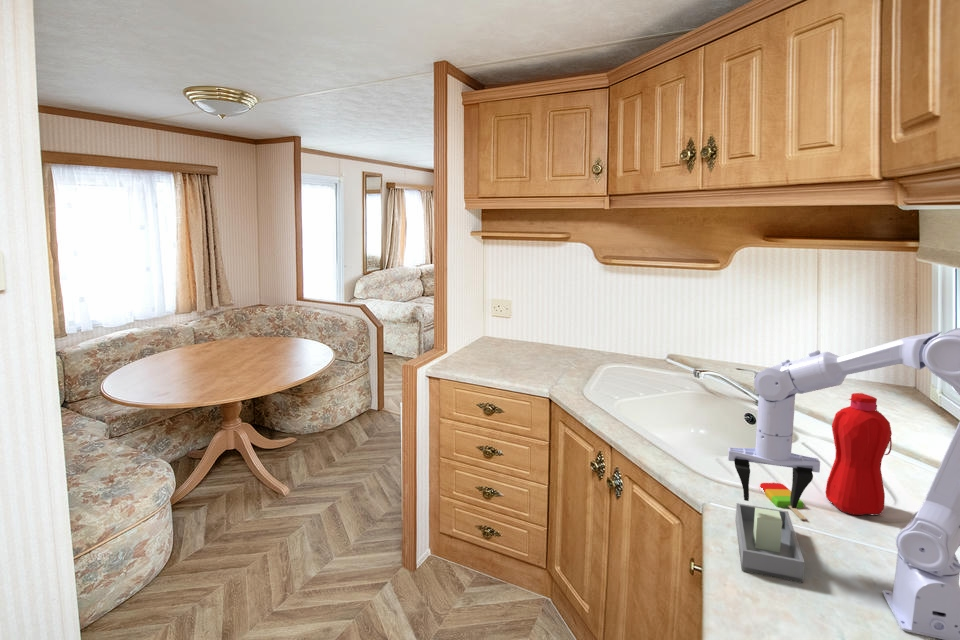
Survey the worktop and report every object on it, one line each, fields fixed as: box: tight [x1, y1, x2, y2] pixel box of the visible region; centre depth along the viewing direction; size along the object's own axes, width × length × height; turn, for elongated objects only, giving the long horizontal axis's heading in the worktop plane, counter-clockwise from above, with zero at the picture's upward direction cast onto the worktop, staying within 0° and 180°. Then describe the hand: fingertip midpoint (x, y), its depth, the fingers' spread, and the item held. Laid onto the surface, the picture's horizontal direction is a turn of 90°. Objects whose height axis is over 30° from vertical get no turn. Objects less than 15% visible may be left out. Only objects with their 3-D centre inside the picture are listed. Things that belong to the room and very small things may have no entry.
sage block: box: [753, 508, 782, 552], centre depth 98 cm, size 4×4×6 cm
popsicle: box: [759, 482, 807, 521], centre depth 115 cm, size 6×15×2 cm, turn 176°
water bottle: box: [824, 392, 893, 516], centre depth 112 cm, size 9×11×25 cm
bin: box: [735, 503, 805, 584], centre depth 98 cm, size 18×9×4 cm, turn 157°
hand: (769, 502), depth 97 cm, fingers open, 7 cm apart
